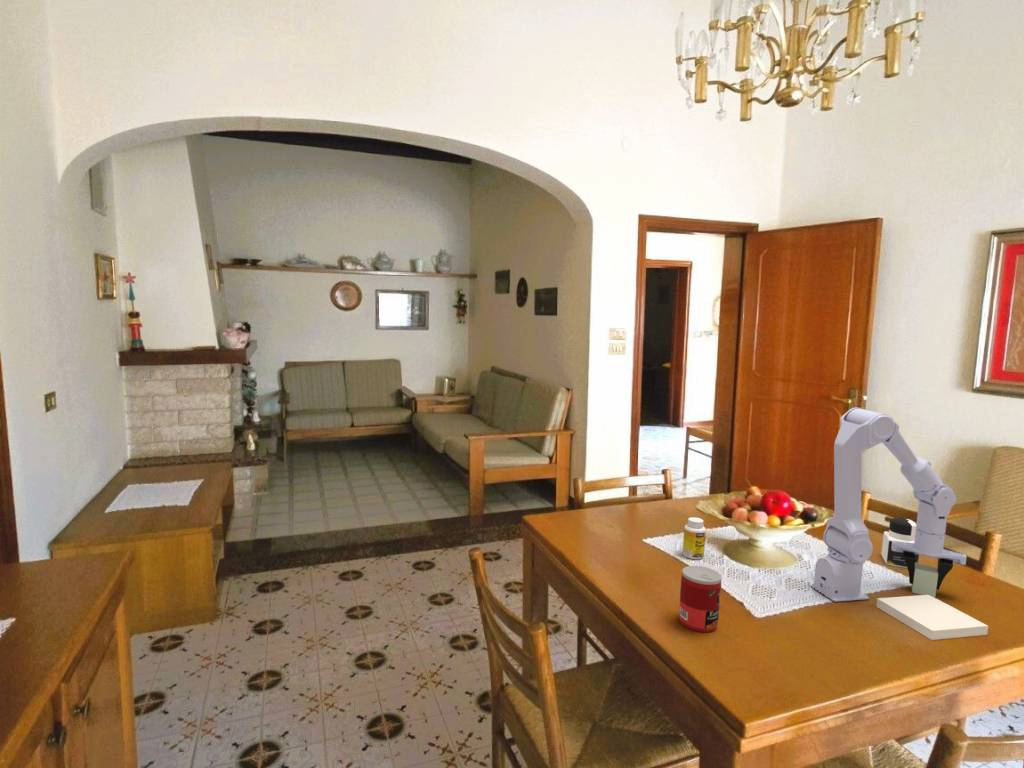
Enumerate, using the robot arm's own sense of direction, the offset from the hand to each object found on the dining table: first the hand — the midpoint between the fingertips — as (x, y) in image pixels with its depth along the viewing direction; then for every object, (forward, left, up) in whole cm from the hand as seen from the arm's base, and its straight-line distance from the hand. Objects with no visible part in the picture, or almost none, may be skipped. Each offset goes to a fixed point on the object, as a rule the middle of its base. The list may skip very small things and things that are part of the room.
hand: (923, 585), depth 142 cm
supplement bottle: (-46, +27, -2) cm, 53 cm away
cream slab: (-11, -12, -2) cm, 16 cm away
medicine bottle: (+9, +16, -2) cm, 18 cm away
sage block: (0, 0, -2) cm, 2 cm away
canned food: (-63, -6, -2) cm, 63 cm away
